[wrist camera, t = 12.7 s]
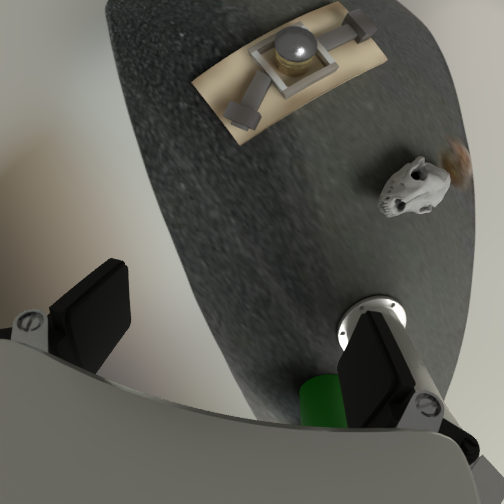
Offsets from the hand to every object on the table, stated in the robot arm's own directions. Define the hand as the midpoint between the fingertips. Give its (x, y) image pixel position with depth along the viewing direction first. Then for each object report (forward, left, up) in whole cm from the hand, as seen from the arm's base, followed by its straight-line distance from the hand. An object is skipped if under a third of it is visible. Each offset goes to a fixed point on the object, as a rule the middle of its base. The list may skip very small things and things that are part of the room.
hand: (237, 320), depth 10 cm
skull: (-9, -18, -29) cm, 35 cm away
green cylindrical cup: (-38, +12, -28) cm, 49 cm away
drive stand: (+13, -13, -28) cm, 34 cm away
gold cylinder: (+13, -13, -26) cm, 32 cm away
